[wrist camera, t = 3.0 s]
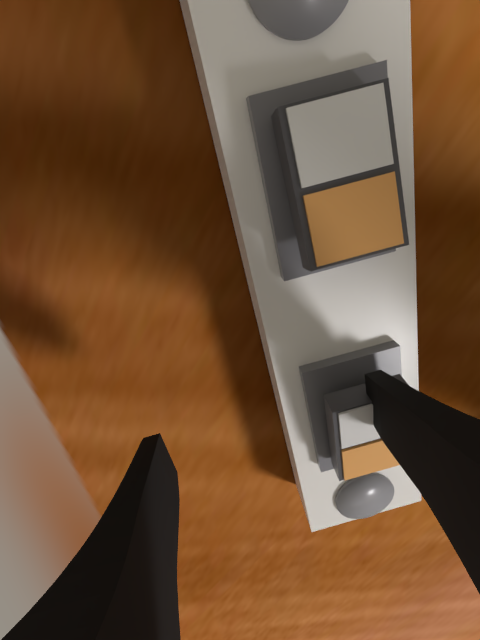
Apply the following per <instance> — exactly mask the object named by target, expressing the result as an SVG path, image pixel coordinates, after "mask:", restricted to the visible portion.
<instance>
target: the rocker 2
mask: <svg viewBox="0 0 480 640" xmlns="http://www.w3.org/2000/svg"><path fill="white" fill-rule="evenodd" d="M393 377H394V378H396V379H398V380H400V381H401V382H403V383H405V384H407V382H406V381H405V380H404V379H403V377H402V376H401V375H400V374H397V375H393ZM407 385H408V384H407ZM324 403H325V412H326V420H327V429H328V438H329V446H330V455H331V463H332V465H333V468H334V470H335V472H336V475H337V477H338V479H339V481H341V480H349V479H352V478H356V477H359V476H363V475H366V474H370V473H373V472H377V471H381V470H384V469H388V468H391V467H395V466H398V465H400V464H399V463H398V462H397V460H396V459H395V458H394V456H393V455H392V453H391V452H390V451H389V449H388V448H387V447H386V445H385V444H384V442H383V441H382V439H381V438H380V436H379V434H378V433H377V431H376V429H375V427H374V425H373V404H372V401H371V400H370V398H369V397H368V395H367V394H366V385H365V384H361V385H357V386H354V387H350V388H347V389H343V390H339V391H336V392H332V393H329V394H325V395H324Z"/></svg>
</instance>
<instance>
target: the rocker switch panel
mask: <svg viewBox="0 0 480 640" xmlns="http://www.w3.org/2000/svg"><path fill="white" fill-rule="evenodd" d="M179 1H180V5H181V9H182V13H183V17H184V22H185V26H186V30H187V34H188V38H189V42H190V46H191V51H192V55H193V59H194V63H195V67H196V71H197V75H198V80H199V84H200V88H201V92H202V96H203V100H204V105H205V109H206V113H207V117H208V121H209V125H210V129H211V134H212V138H213V142H214V146H215V150H216V154H217V158H218V163H219V167H220V171H221V175H222V179H223V183H224V187H225V192H226V196H227V200H228V204H229V208H230V212H231V217H232V221H233V225H234V229H235V233H236V237H237V241H238V246H239V250H240V254H241V258H242V262H243V266H244V270H245V275H246V279H247V283H248V287H249V291H250V295H251V299H252V304H253V308H254V312H255V316H256V320H257V324H258V329H259V333H260V337H261V341H262V345H263V349H264V353H265V358H266V362H267V366H268V370H269V374H270V378H271V382H272V387H273V391H274V395H275V399H276V403H277V407H278V411H279V416H280V420H281V424H282V428H283V432H284V436H285V441H286V445H287V449H288V453H289V457H290V461H291V465H292V470H293V474H294V478H295V482H296V486H297V489H298V492H299V495H300V498H301V501H302V504H303V507H304V510H305V513H306V516H307V519H308V522H309V526H310V529H311V532H313V531H317V530H320V529H324V528H327V527H331V526H334V525H338V524H341V523H345V522H348V521H352V520H355V519H362V518H367V517H371V516H373V515H375V514H377V513H380V512H384V511H387V510H391V509H394V508H398V507H401V506H405V505H408V504H412V503H415V502H419V501H421V493H420V492H419V490H418V489H417V487H416V486H415V485H414V483H413V482H412V481H411V479H410V478H409V477H408V475H407V474H406V473H405V471H404V470H403V468H402V467H401V466H400V465H398V466H395V467H391V468H388V469H384V470H381V471H377V472H373V473H370V474H366V475H363V476H359V477H356V478H352V479H349V480H341V481H339V479H338V477H337V475H336V472H335V470H334V468H333V465H332V463H331V455H330V446H329V438H328V429H327V420H326V412H325V403H324V395H325V394H329V393H332V392H336V391H339V390H343V389H347V388H350V387H354V386H357V385H361V384H365V375H364V374H367V373H370V372H374V371H377V370H382V371H384V372H386V373H387V374H389V375H391V376H393V375H397V374H400V375H401V376H402V377H403V379H404V380H405V381H406V382H407V384H408V385H409V386H410V387H412V388H414V389H416V390H418V391H419V380H418V335H417V290H416V245H415V199H414V154H413V109H412V64H411V19H410V0H179ZM386 78H389V86H390V94H391V102H392V110H393V118H394V126H395V134H396V142H397V150H398V158H399V166H400V174H401V182H402V190H403V198H404V206H405V214H406V222H407V230H408V238H409V245H407V246H403V247H399V248H396V249H392V250H388V251H385V252H381V253H377V254H373V255H370V256H366V257H362V258H359V259H355V260H351V261H348V262H344V263H340V264H337V265H333V266H329V267H326V268H322V269H318V270H315V271H308V270H306V269H304V268H303V266H302V262H301V257H300V252H299V247H298V242H297V238H296V233H295V228H294V223H293V218H292V214H291V209H290V204H289V199H288V195H287V190H286V185H285V180H284V175H283V171H282V166H281V161H280V156H279V151H278V147H277V142H276V137H275V132H274V127H273V123H272V118H271V116H272V114H273V113H274V111H275V110H276V108H277V107H279V106H283V105H286V104H290V103H294V102H298V101H302V100H306V99H309V98H313V97H317V96H321V95H325V94H328V93H332V92H336V91H340V90H344V89H347V88H351V87H355V86H359V85H363V84H366V83H370V82H374V81H378V80H382V79H386Z"/></svg>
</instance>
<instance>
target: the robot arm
mask: <svg viewBox="0 0 480 640" xmlns="http://www.w3.org/2000/svg"><path fill="white" fill-rule="evenodd" d="M364 375H365V385H366V394H367V395H368V397H369V398H370V400H371V401H372V404H373V425H374V427H375V429H376V431H377V433H378V434H379V436H380V438H381V439H382V441H383V442H384V444H385V445H386V447H387V448H388V449H389V451H390V452H391V453H392V455H393V456H394V458H395V459H396V460H397V462H398V463H399V464H400V466H401V467H402V468H403V470H404V471H405V473H406V474H407V475H408V477H409V478H410V479H411V481H412V482H413V483H414V485H415V486H416V487H417V489H418V490H419V492H420V493H421V494H422V496H423V497H424V499H425V500H426V502H427V503H428V505H429V507H430V508H431V510H432V512H433V513H434V515H435V517H436V518H437V520H438V522H439V523H440V525H441V526H442V528H443V530H444V532H445V533H446V535H447V537H448V538H449V540H450V542H451V544H452V545H453V547H454V549H455V551H456V552H457V554H458V556H459V558H460V559H461V561H462V563H463V565H464V567H465V568H466V570H467V572H468V574H469V576H470V577H471V579H472V581H473V583H474V585H475V587H476V588H477V590H478V592H479V594H480V419H477V418H475V417H472V416H470V415H467V414H465V413H463V412H460V411H458V410H456V409H454V408H452V407H449V406H447V405H445V404H443V403H441V402H439V401H437V400H435V399H433V398H431V397H429V396H427V395H425V394H423V393H421V392H419V391H418V390H416V389H414V388H412V387H410V386H409V385H407V384H405V383H403V382H401V381H400V380H398V379H396V378H394V377H393V376H391V375H389V374H387V373H386V372H384V371H382V370H377V371H374V372H370V373H367V374H364ZM178 527H179V487H178V475H177V471H176V468H175V466H174V464H173V462H172V459H171V457H170V455H169V453H168V451H167V448H166V446H165V444H164V442H163V439H162V437H161V435H160V433H159V434H156V435H152V436H149V437H146V438H143V440H142V441H141V443H140V445H139V448H138V450H137V452H136V454H135V456H134V458H133V460H132V462H131V464H130V466H129V468H128V470H127V472H126V474H125V476H124V478H123V480H122V482H121V484H120V486H119V488H118V490H117V491H116V493H115V495H114V497H113V499H112V500H111V502H110V504H109V505H108V507H107V509H106V511H105V512H104V514H103V516H102V517H101V519H100V521H99V522H98V524H97V525H96V527H95V529H94V530H93V532H92V533H91V535H90V536H89V537H88V539H87V541H86V542H85V543H84V545H83V546H82V547H81V549H80V550H79V552H78V553H77V554H76V555H75V557H74V558H73V559H72V561H71V562H70V563H69V564H68V566H67V567H66V568H65V570H64V571H63V572H62V574H61V575H60V576H59V577H58V578H57V580H56V581H55V582H54V583H53V585H52V586H51V587H50V588H49V589H48V590H47V591H46V593H45V594H44V595H43V596H42V597H41V598H40V599H39V601H38V602H37V603H36V604H35V605H34V606H33V607H32V608H31V610H30V611H29V612H28V613H27V614H26V615H25V616H24V617H23V618H22V619H21V620H20V621H19V622H18V623H17V624H16V625H15V626H14V627H13V628H12V629H11V630H10V631H9V632H8V633H7V634H6V635H5V637H3V638H2V640H180V626H179V611H178V591H177V551H178Z"/></svg>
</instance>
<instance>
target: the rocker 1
mask: <svg viewBox="0 0 480 640" xmlns="http://www.w3.org/2000/svg"><path fill="white" fill-rule="evenodd" d="M271 118H272V123H273V127H274V132H275V137H276V142H277V147H278V151H279V156H280V161H281V166H282V171H283V175H284V180H285V185H286V190H287V195H288V199H289V204H290V209H291V214H292V218H293V223H294V228H295V233H296V238H297V242H298V247H299V252H300V257H301V262H302V266H303V268H304V269H306V270H308V271H315V270H318V269H322V268H326V267H329V266H333V265H337V264H340V263H344V262H348V261H351V260H355V259H359V258H362V257H366V256H370V255H373V254H377V253H381V252H385V251H388V250H392V249H396V248H399V247H403V246H407V245H409V238H408V230H407V222H406V214H405V206H404V198H403V190H402V182H401V174H400V166H399V158H398V150H397V142H396V134H395V126H394V118H393V110H392V102H391V94H390V86H389V78H386V79H382V80H378V81H374V82H370V83H366V84H363V85H359V86H355V87H351V88H347V89H344V90H340V91H336V92H332V93H328V94H325V95H321V96H317V97H313V98H309V99H306V100H302V101H298V102H294V103H290V104H286V105H283V106H279V107H277V108H276V110H275V111H274V113H273V114H272V116H271Z"/></svg>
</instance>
